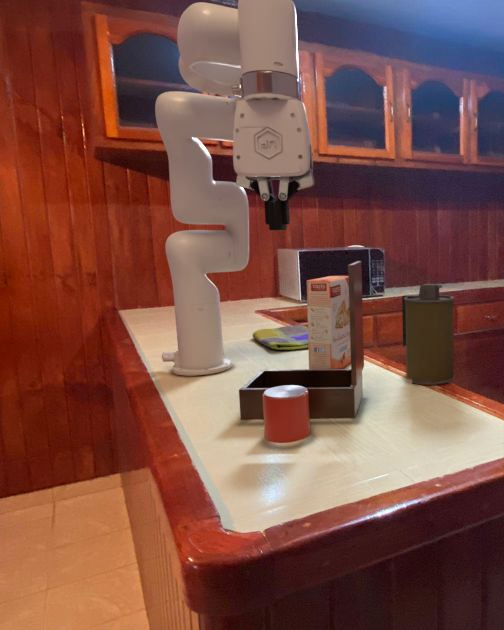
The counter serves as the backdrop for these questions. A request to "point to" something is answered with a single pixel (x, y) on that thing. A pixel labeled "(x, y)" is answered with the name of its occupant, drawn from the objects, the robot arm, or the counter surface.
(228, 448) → the counter surface
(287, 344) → the dish towel
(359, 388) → the chest
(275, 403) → the tin can
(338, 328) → the cracker box
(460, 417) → the counter surface
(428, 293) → the canister
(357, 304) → the lid
